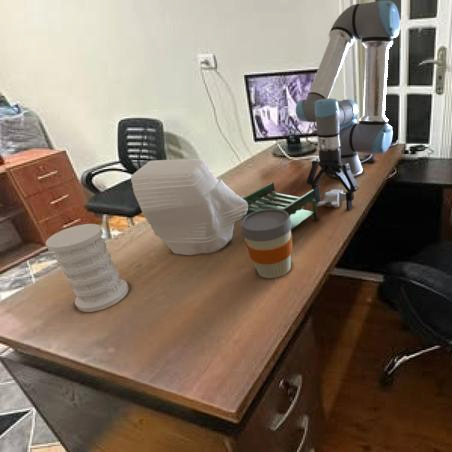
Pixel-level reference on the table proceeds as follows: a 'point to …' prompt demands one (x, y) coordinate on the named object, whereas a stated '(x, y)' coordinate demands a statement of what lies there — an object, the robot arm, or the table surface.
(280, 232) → the reusable coffee cup
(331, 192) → the bunny figurine
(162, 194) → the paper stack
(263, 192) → the rack
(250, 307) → the table surface
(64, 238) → the decorative container
